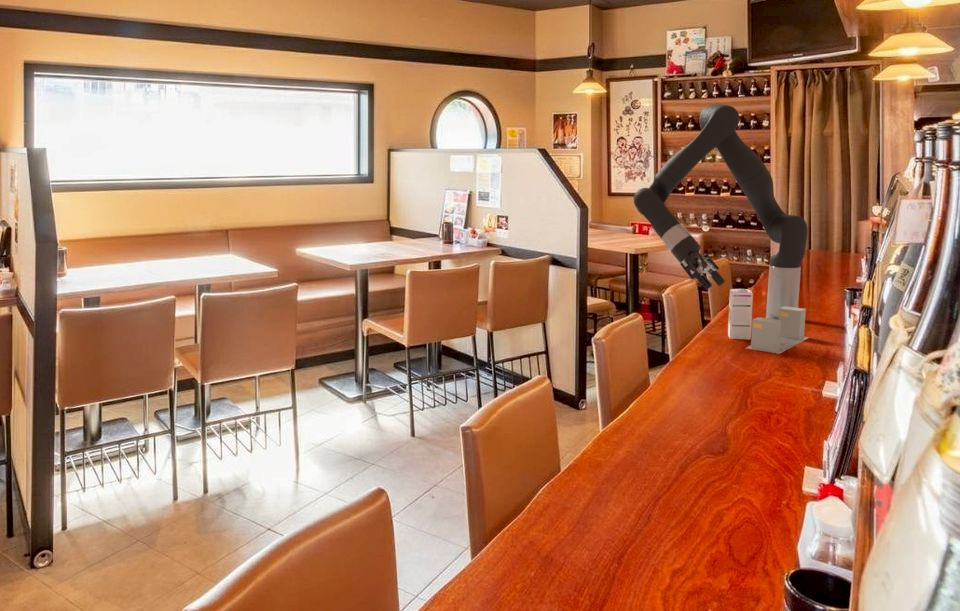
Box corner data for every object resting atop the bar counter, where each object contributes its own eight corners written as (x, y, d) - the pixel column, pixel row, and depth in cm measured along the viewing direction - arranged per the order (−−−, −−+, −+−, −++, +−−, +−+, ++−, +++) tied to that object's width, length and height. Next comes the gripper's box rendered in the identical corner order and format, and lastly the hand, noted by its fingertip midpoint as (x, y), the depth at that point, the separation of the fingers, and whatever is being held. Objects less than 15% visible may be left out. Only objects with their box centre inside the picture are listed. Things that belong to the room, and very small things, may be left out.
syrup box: (751, 343, 209) (754, 292, 206) (728, 342, 210) (731, 291, 208) (748, 338, 215) (751, 289, 212) (726, 338, 216) (729, 288, 213)
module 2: (782, 333, 216) (784, 306, 214) (803, 336, 212) (805, 308, 210) (777, 336, 213) (779, 308, 211) (798, 339, 209) (800, 311, 207)
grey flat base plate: (776, 336, 217) (776, 332, 217) (808, 341, 211) (809, 337, 211) (744, 352, 200) (745, 348, 200) (778, 358, 194) (779, 353, 194)
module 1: (756, 346, 202) (758, 317, 200) (779, 349, 198) (781, 320, 196) (750, 349, 199) (752, 319, 197) (773, 352, 195) (775, 322, 193)
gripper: (678, 236, 212) (714, 280, 207) (700, 232, 223) (735, 274, 218) (660, 253, 217) (695, 297, 212) (683, 249, 227) (717, 290, 222)
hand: (716, 285), depth 215 cm, fingers open, 8 cm apart
